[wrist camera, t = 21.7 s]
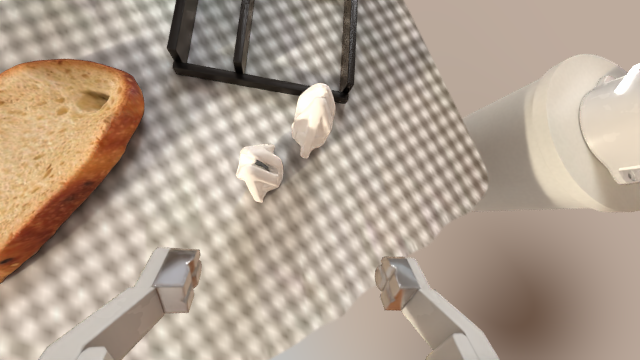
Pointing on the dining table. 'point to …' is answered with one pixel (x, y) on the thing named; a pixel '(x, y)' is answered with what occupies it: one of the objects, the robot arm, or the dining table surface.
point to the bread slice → (57, 145)
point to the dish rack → (182, 39)
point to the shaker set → (306, 131)
